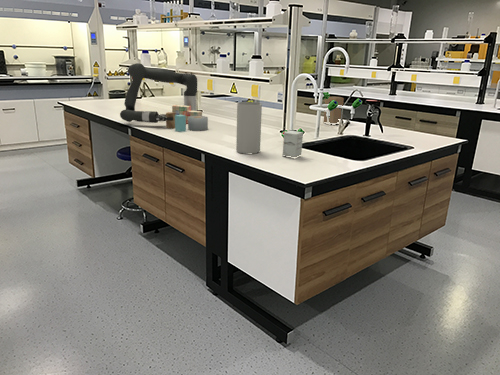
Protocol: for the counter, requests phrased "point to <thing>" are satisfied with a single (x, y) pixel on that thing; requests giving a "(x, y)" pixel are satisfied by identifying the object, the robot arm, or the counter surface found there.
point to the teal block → (180, 123)
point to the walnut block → (170, 123)
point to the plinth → (197, 123)
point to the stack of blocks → (185, 111)
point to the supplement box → (292, 143)
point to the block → (336, 112)
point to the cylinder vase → (248, 127)
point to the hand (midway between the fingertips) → (174, 118)
